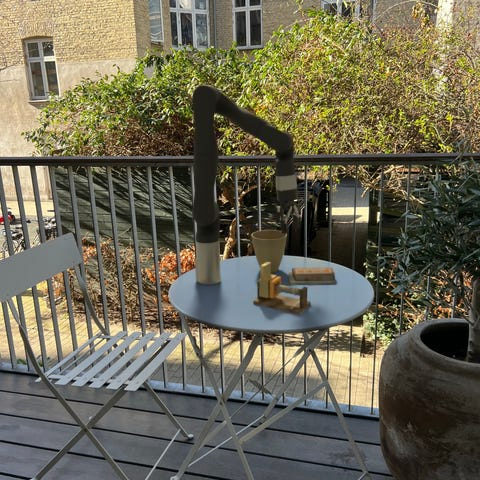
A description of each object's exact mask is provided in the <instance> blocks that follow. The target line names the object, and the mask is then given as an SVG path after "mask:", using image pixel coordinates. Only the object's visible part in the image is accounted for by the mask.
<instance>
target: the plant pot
mask: <svg viewBox="0 0 480 480" xmlns="http://www.w3.org/2000/svg"><path fill="white" fill-rule="evenodd" d="M287 237H288V233H286V234H283V233H282V232H281V230H276V229H263V230H257V231H255V232H252V233H251V241H252V246H253V251H254V254H255V255H254V256H255V258H256V261H257V264H258V266H259V268H260V266H261V265H262V264H264V263H266V262H271V274H272V273H273V274H274V273H276V272H278V271H279V269H280V266H281V263H282V260H283V256H284V253H285V249H286V243H287Z"/></svg>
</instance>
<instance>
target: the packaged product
mask: <svg viewBox="0 0 480 480" xmlns="http://www.w3.org/2000/svg"><path fill="white" fill-rule="evenodd" d="M335 274H336V273H335V272H334V269H333V267H293V268H292V269H291V272H288V279H289V280H288V281H289V285H290V284H291V285H297V284H298V285H299V284H303V285H304V284H306V285H307V284H309V285H311V284H312V285H315V284H316V285H318V284H319V285H320V284H321V285H323V284H329V285H330V284H333V285H335V284H336V279H335V278H336V275H335Z"/></svg>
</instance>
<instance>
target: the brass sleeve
mask: <svg viewBox="0 0 480 480" xmlns="http://www.w3.org/2000/svg"><path fill="white" fill-rule="evenodd" d="M259 269H260V270H259V275H260V277H259V279H258V281H259V291H260V296H261V297H265V298H269V297H270V281H272V280H273V279H275V278H276V277H278V276H277V274H272V273H271V262H266V263H264V264H262V265H261V266H260V267H259ZM275 284H277V283H275ZM274 292H275V291H274Z"/></svg>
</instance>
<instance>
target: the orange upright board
mask: <svg viewBox="0 0 480 480" xmlns="http://www.w3.org/2000/svg"><path fill="white" fill-rule="evenodd" d="M275 283H277V284H279V285H282V276H277V277H276V278H275V279H273V280H272V281H270V298H274V297H276V296H277V295H280V294H281V293H282V292H279V291H275V292H274V284H275Z"/></svg>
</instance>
